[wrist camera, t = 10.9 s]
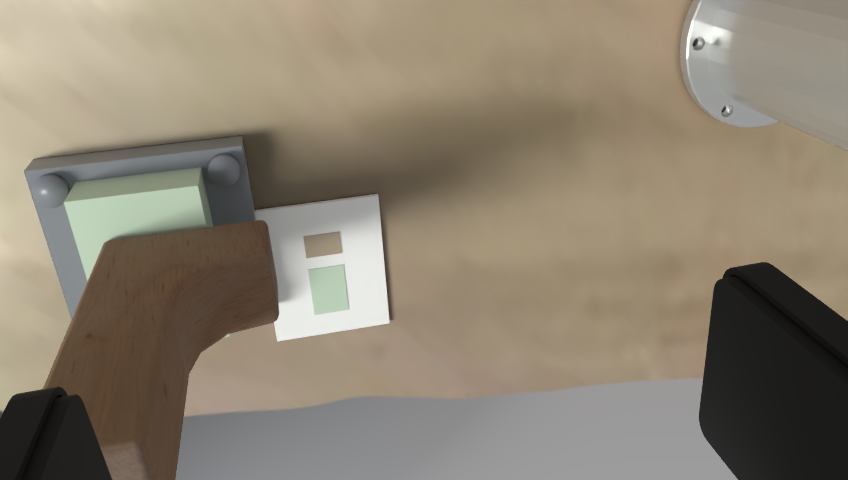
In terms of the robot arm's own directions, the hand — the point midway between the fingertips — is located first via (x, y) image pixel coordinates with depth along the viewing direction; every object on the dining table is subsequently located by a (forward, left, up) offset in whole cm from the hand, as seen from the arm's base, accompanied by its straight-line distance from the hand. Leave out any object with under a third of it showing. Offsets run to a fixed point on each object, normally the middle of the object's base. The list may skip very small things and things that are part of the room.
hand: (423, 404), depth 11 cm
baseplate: (+10, +13, -36) cm, 39 cm away
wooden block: (+8, +12, -31) cm, 34 cm away
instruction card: (0, +17, -36) cm, 39 cm away
